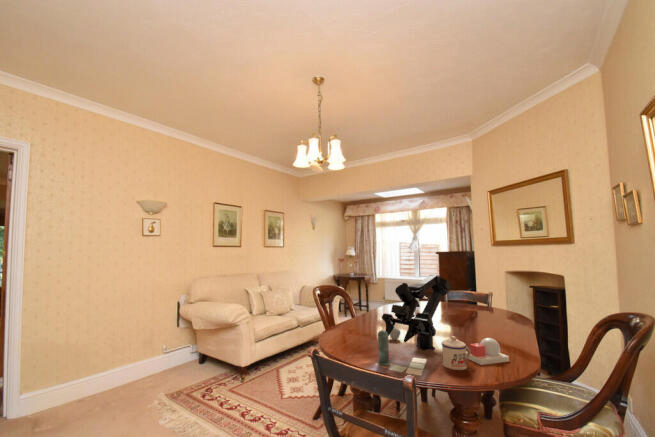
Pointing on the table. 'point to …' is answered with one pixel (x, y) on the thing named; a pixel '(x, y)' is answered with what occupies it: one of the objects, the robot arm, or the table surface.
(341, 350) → the table surface
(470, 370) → the table surface
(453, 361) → the teacup with lid
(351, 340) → the table surface
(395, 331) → the frog figurine
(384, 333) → the pawn
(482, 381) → the table surface
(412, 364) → the track
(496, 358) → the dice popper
